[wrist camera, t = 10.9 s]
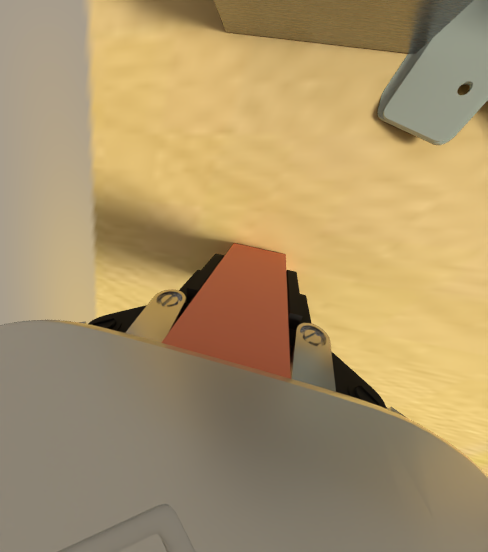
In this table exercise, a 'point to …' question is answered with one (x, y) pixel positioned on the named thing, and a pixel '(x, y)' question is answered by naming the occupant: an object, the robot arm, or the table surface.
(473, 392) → the table surface
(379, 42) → the grey socket fixture
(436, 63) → the metal bracket
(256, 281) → the red rectangular block
